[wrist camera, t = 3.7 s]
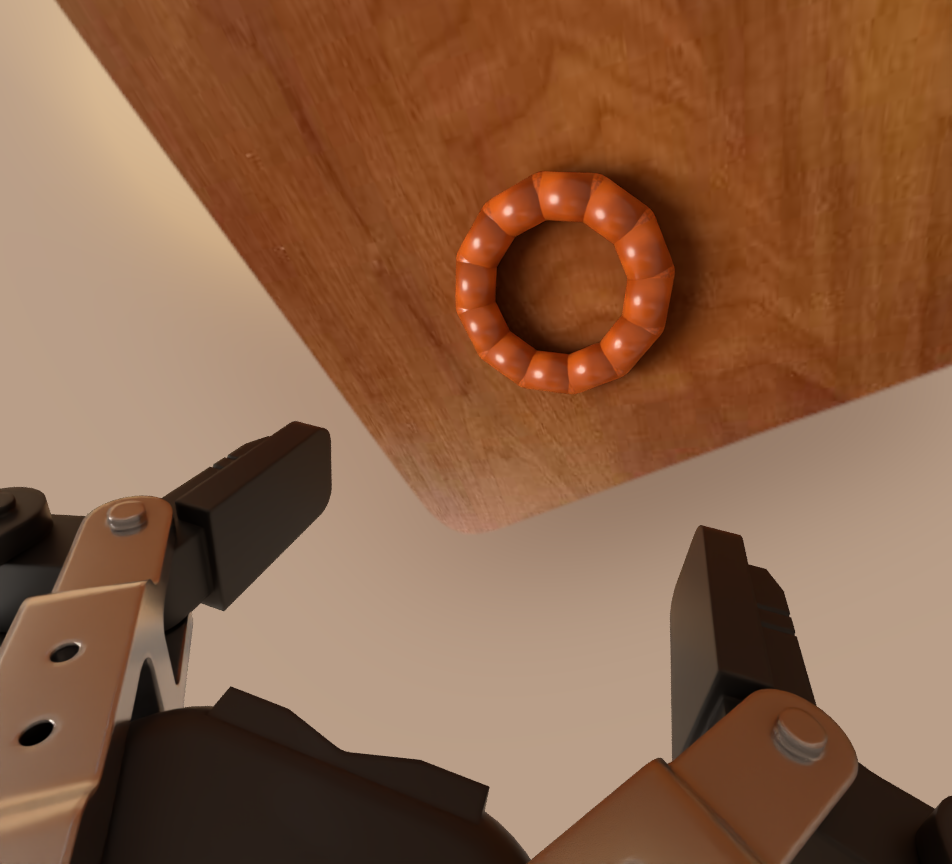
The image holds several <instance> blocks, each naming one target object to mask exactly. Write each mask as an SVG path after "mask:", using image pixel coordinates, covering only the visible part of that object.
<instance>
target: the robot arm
mask: <svg viewBox="0 0 952 864" xmlns="http://www.w3.org/2000/svg"><path fill="white" fill-rule="evenodd" d="M331 481H332V480H331V438H330V434H329V432H328V430H327V429H325V428H321V427H317V426H313V425H309V424H305V423H301V422H297V421H294V422H291V423H289V424H288V425H286V426H285V427H284V428H282V429H280V430H279V431H278V432H276V433H275V434H273V435H272V436H270V437H269V436H267V437H264V438H261V439H258V440H255V441H252V442H249V443H246V444H244V445H243V446H241V447H240V448H238V449H237V450H235V451H233V452H232V453H230V454H229V455H228V457H227V458H223V459H221V460H220V461H218V462H217V463H215V464H214V465H213V467H209V468H207V469H206V470H205V471H203V472H201V473H200V474H198V475H197V476H195V477H193V478H192V479H191V480H189V481H187V482H186V483H184V484H183V485H181V486H180V487H178V488H177V489H175V490H173V491H172V492H170V493H169V494H167V495H166V496H164V497H163V498H158V497H153V496H132V497H125V498H120V499H117V500H113V501H111V502H108V503H105V504H103V505H101V506H99V507H97V508H96V509H94V510H93V511H91V512H90V513H89V514H88V515H87V516H71V515H54V514H51V513H50V510H49V507H48V504H47V500H46V497H45V495H44V494H43V493H42V492H41V491H39V490H36V489H33V488H26V487H10V488H2V489H0V864H952V796H949V797H947V798H945V799H944V800H942V802H941V803H940V804H939V805H938V806H937V807H936V808H935V809H934V808H933V807H931V806H929V805H927V804H925V803H924V802H922V801H920V800H919V799H917V798H915V797H913V796H912V795H910V794H908V793H906V792H905V791H903V790H901V789H900V788H898V787H896V786H894V785H892V784H891V783H889V782H888V781H886V780H884V779H882V778H881V777H879V776H877V775H876V774H874V773H873V772H871V771H870V770H868V769H867V768H866V767H864V766H863V765H862V764H860V763H859V762H858V759H857V756H856V752H855V750H854V748H853V746H852V744H851V742H850V740H849V739H848V737H847V736H846V734H845V733H844V731H843V730H842V729H841V728H840V726H838V724H837V723H836V722H835V721H834V720H833V719H832V718H831V717H830V716H828V715H827V714H826V713H825V712H824V711H823V710H821V709H820V708H818V707H817V706H816V702H815V699H814V695H813V693H812V689H811V685H810V682H809V678H808V675H807V671H806V668H805V665H804V661H803V657H802V654H801V650H800V647H799V643H798V640H797V637H796V636H795V630H794V626H793V622H792V619H791V617H789V615H790V612H789V608H788V605H787V601H786V598H785V594H784V591H783V590H782V589H781V587H780V586H779V585H778V583H777V582H776V581H775V580H774V578H773V577H772V576H771V575H770V573H769V572H768V571H767V570H766V569H764V568H760V567H756V566H752V565H749V564H748V562H747V556H746V552H745V547H744V543H743V538H742V537H741V535H737V534H734V533H730V532H726V531H722V530H718V529H714V528H710V527H706V526H702V525H700V526H699V527H698V528H697V530H696V532H695V534H694V537H693V539H692V542H691V545H690V548H689V551H688V553H687V556H686V559H685V562H684V564H683V567H682V570H681V572H680V575H679V578H678V581H677V584H676V586H675V590H674V594H673V598H672V604H671V611H670V633H671V634H670V637H671V638H670V639H671V640H670V641H671V706H672V707H671V708H672V762H671V763H668V764H667V763H666V762H665V761H664V760H663V759H662V758H657V759H654V760H652V761H651V762H650V763H648V764H646V765H645V766H644V767H642V768H641V769H640V770H639V771H638V772H636V773H635V774H634V775H633V776H632V777H630V778H629V779H628V780H627V781H626V782H624V783H623V784H622V785H621V786H620V787H618V788H617V789H616V790H615V791H613V792H612V793H611V794H610V795H609V796H607V797H606V798H605V799H604V800H603V801H602V802H600V803H599V804H598V805H597V806H595V807H594V808H593V809H592V810H591V811H589V812H588V813H587V814H586V815H585V816H583V817H582V818H581V819H580V820H579V821H577V822H576V823H575V824H574V825H572V826H571V827H570V828H569V829H568V830H567V831H565V832H564V833H563V834H562V835H561V836H559V837H558V838H557V839H556V840H554V841H553V842H552V843H551V844H550V845H549V846H547V847H546V848H545V849H544V850H542V851H541V852H540V853H539V854H537V855H536V856H535V857H534V858H533V859H532V860H531V859H530V858H529V856H528V855H527V853H526V852H525V851H524V849H523V848H522V847H521V846H520V844H519V843H518V842H517V841H516V840H515V838H514V837H513V836H512V835H511V834H510V833H509V832H508V831H507V830H506V829H505V828H504V827H503V826H502V825H501V824H500V823H499V822H498V821H496V820H495V819H494V818H493V817H491V816H490V815H489V814H487V813H486V812H485V806H486V802H487V797H488V792H489V786H486V785H483V784H481V783H479V782H476V781H473V780H471V779H468V778H465V777H463V776H460V775H458V774H455V773H453V772H450V771H447V770H445V769H442V768H440V767H437V766H435V765H432V764H430V763H427V762H424V761H422V760H416V759H407V758H398V757H388V756H379V755H369V754H360V753H350V752H346V751H343V750H341V749H339V748H338V747H336V746H335V745H334V744H332V743H331V742H330V741H328V740H327V739H326V738H325V737H324V736H322V735H321V734H320V733H318V732H317V731H316V730H315V729H313V728H312V727H311V726H310V725H308V724H307V723H306V722H305V721H303V720H302V719H301V718H299V717H298V716H297V715H296V714H294V713H293V712H292V711H291V710H289V709H287V708H285V707H282V706H280V705H277V704H274V703H272V702H269V701H267V700H264V699H262V698H259V697H257V696H254V695H252V694H249V693H246V692H244V691H241V690H238V689H236V688H233V687H230V688H229V689H228V690H227V691H226V692H225V694H224V695H223V696H222V697H221V698H220V700H219V701H218V702H217V703H216V704H215V705H214V707H212V706H195V707H185V708H184V696H185V687H186V679H187V671H188V662H189V653H190V645H191V636H192V628H193V618H192V611H193V610H194V609H195V608H196V607H197V606H198V605H199V604H200V603H202V604H205V605H208V606H210V607H213V608H216V609H219V610H222V611H225V610H226V609H227V608H228V606H230V605H231V604H232V602H234V601H235V600H236V598H238V596H240V595H241V594H242V593H243V592H244V591H245V590H246V589H247V588H248V587H249V586H250V585H251V584H252V583H253V582H254V581H255V580H256V579H257V577H259V576H260V575H261V574H262V573H263V572H264V571H265V570H266V569H267V568H268V567H269V566H270V565H271V564H272V563H273V562H274V561H275V560H276V558H278V557H279V556H280V554H281V553H282V552H284V550H286V549H287V548H288V547H289V546H290V545H291V544H292V543H293V542H294V540H296V539H297V538H298V537H299V536H300V535H301V534H302V533H303V532H304V531H305V530H306V529H307V528H308V527H309V525H311V524H312V523H313V522H314V521H315V520H316V519H317V518H318V517H319V516H320V515H321V514H322V512H323V511H324V510H325V508H326V506H327V504H328V502H329V499H330V495H331V489H332V488H331V486H332V483H331Z"/></svg>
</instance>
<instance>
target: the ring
mask: <svg viewBox="0 0 952 864" xmlns="http://www.w3.org/2000/svg"><path fill="white" fill-rule="evenodd" d="M546 220H554V221H571V222H584V223H585V224H586V225H588V226H589V227H590V228H592V229H593V230H595V231H596V232H597V233H599V234H600V235H602V236H603V237H604V238H606V239H607V240H609V241H610V242H611V243H613V244H614V247H615V249H616V251H617V254H618V256H619V259H620V261H621V264H622V266H623V269H624V271H625V273H626V276H627V278H628V279H627V286H626V292H625V299H624V306H623V312H622V315H621V316H620V318H619V319H618V320H617V321H616V323H615V324H614V325H613V327H612V328H611V329H610V330H609V332H608V333H607V334H606V335H605V337H604V338H603V339H602V340H601V342H598V343H596V344H593V345H591V346H588V347H586V348H584V349H581V350H579V351H576V352H574V353H571V354H564V353H555V352H547V351H538V350H536V349H534V348H533V347H532V346H530V345H529V344H527V343H526V342H525V341H523V340H522V339H520V338H519V337H518V336H516V335H515V334H513V333H512V332H511V331H510V330H509V328H508V326H507V324H506V322H505V320H504V318H503V316H502V314H501V312H500V309H499V307H498V305H497V303H496V301H495V298H496V276H497V266H498V264H499V263H500V261H501V259H502V258H503V256H504V254H505V253H506V251H507V249H508V248H509V246H510V245H511V243H512V241H513V240H514V238H515V237H516V236H518V235H520V234H522V233H524V232H525V231H527V230H529V229H531V228H533V227H535V226H537V225H538V224H540V223H542V222H544V221H546ZM674 276H675V268H674V264H673V261H672V259H671V256H670V254H669V251H668V248H667V246H666V243H665V241H664V238H663V235H662V233H661V230H660V228H659V225H658V222H657V220H656V217H655V215H654V213H653V212H652V210H651V209H650V208H649V207H647V206H646V205H645V204H643V203H642V202H641V201H639V200H638V199H636V198H635V197H634V196H632V195H631V194H629V193H628V192H627V191H625V190H624V189H622V188H621V187H620V186H618V185H617V184H615V183H614V182H613V181H611V180H610V179H609V178H607V177H606V176H604V175H602V174H598V173H579V172H551V171H541V172H537V173H535V174H533V175H531V176H529V177H528V178H526V179H524V180H522V181H521V182H519V183H517V184H516V185H514V186H512V187H511V188H509V189H507V190H505V191H504V192H502V193H500V194H499V195H497V196H495V197H493V198H492V199H490V200H489V201H487V202H486V203H485V204H484V206H483V207H482V209H481V211H480V213H479V214H478V216H477V218H476V220H475V222H474V223H473V225H472V227H471V229H470V230H469V232H468V234H467V236H466V238H465V239H464V241H463V243H462V245H461V247H460V248H459V250H458V253H457V257H456V311H457V314H458V316H459V318H460V320H461V322H462V324H463V326H464V328H465V330H466V332H467V334H468V336H469V338H470V339H471V341H472V343H473V345H474V347H475V349H476V351H477V353H478V355H479V356H480V358H481V359H483V360H484V361H485V362H487V363H488V364H489V365H491V366H492V367H494V368H495V369H496V370H498V371H499V372H501V373H502V374H503V375H505V376H506V377H508V378H509V379H510V380H512V381H513V382H515V383H516V384H517V385H519V386H521V387H523V388H527V389H535V390H542V391H549V392H556V393H564V394H577V393H581V392H583V391H586V390H589V389H591V388H594V387H597V386H599V385H602V384H605V383H607V382H610V381H613V380H615V379H618V378H621V377H623V376H625V375H626V374H627V373H628V372H629V371H630V370H631V369H632V368H633V367H634V366H635V364H636V363H637V362H638V361H639V360H640V359H641V357H642V356H643V355H644V354H645V353H646V351H647V350H648V349H649V348H650V347H651V346H652V344H653V343H654V342H655V341H656V340H657V339H658V337H659V336H660V335H661V334H662V332H663V330H664V328H665V324H666V319H667V314H668V308H669V303H670V297H671V292H672V287H673V281H674Z"/></svg>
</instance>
